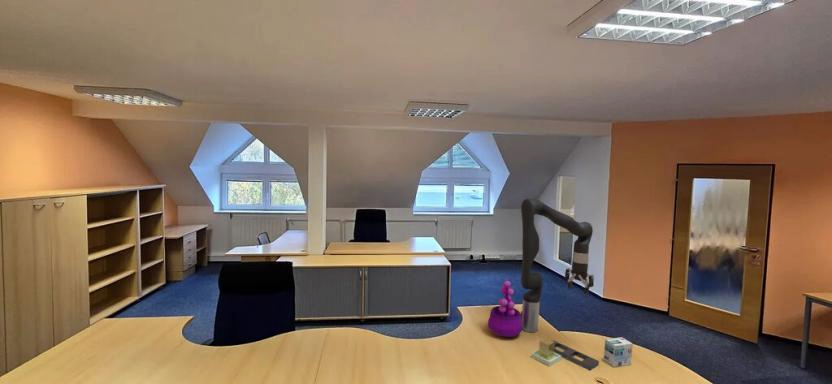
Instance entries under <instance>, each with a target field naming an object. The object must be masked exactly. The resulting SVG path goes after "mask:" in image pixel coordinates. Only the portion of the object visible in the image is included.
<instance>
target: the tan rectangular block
mask: <svg viewBox="0 0 832 384" xmlns="http://www.w3.org/2000/svg"><path fill="white" fill-rule="evenodd" d="M553 341H554V340H550V339H548V338H546V337H545V338H543V339H540V340H539V343H538V344H539V346H538V347H539V348H538V349H539V356H540V357H542V358H544V359H546V360H548V361H549V360H551V359H552V358H554V343H555V342H553Z"/></svg>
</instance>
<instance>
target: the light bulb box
mask: <svg viewBox="0 0 832 384" xmlns="http://www.w3.org/2000/svg"><path fill="white" fill-rule="evenodd" d="M633 346H634V344H633V343H632V342H631V341H629V340H627V339H626V338H624V337H622V336H621V337H614V338H606V339H605V340H604V351H603V361H604V362H605V363H606V364H608V365H610V366H611V367H612V368H617V367H625V366H631V364H632V356H633V355H632V353H633Z"/></svg>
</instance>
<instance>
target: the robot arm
mask: <svg viewBox="0 0 832 384" xmlns="http://www.w3.org/2000/svg"><path fill="white" fill-rule="evenodd" d="M520 206H521V207H520V211H521V213H520V214H521V221H522V223H521V224H522V239H521V242H522V246H521V247H522V248H521V249H522V258H521V259H522V260H521V261H522V264H521V271H520V282H521V283H520V284H521V286H522V288H523V289H524V290H528V291H526V292H525V293H523V295H522V309H521V311H520V314H521V321H522V331H524V332H527V333H537V332H538V331H539V320H540V319H539V318H540V304H541V303H540V301H541V297H542V291H543V276H542V274H541V273H540V272H537V271H534V272H532V271H531V268H532V264H533V262H534V260H535V259H536V257H537V256H538V254H539V251H540V235H539V233H538V231H537V229H536V225H535V215H537V216H542V217H545V218H547V219H548V220H550V221H551V223H553V224H555V225H557V226H559V227H561V228H562V229H565V230H566V231H568V232H569V233H571V234H572V235H574V236H576V237H577V239H576V240H574V242H573V252H572V260H571V261H572V262H571V268H566V269H565V273H564V280H565V281H567V288H568V290H572V289H573V281H574V280H576V281H580V282H581V283H582V284H583V285H584V290H583V291H584V293H583V294H584V295H588V294H589V293H590V288H593V287H594V285H595V284H594V279H595V278H594V277H595V276H594V274H588V271H589V258H590V257H589V251H590V249H589V247H590V243H591V240H592V237H593V232H594V231H593V230H594V229H593V225H592V224H591V223H590V222H588V221H581V222H578V221H576V220H575V218H574V217H572V216H570V215H568V214H566V213H563V212H561V211H559V210H556V209H554V208H552V207H551V206H549V205H547V204H545V203H544V202H543V201H541V200H539V199H538V198H525V199H524V200H522V202H521V205H520ZM570 274H571V275H572V276H570Z"/></svg>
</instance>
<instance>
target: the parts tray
mask: <svg viewBox="0 0 832 384" xmlns="http://www.w3.org/2000/svg"><path fill="white" fill-rule="evenodd" d="M530 357H531V358H533V360H534V359H535V360H537V361H538V362H540V363H542V364H544V365H546V366H548V367H550V366H552V365H554V364H557V363H558V362H560V361H561V360H562V357H561V355H559V354H557V353H555V352H554V358H552V359H551V360H549V361H548V360H546V359H544V358H542V357H540V356H539V348H538V349H536V350H535V351H533V352H531V356H530Z"/></svg>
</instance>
